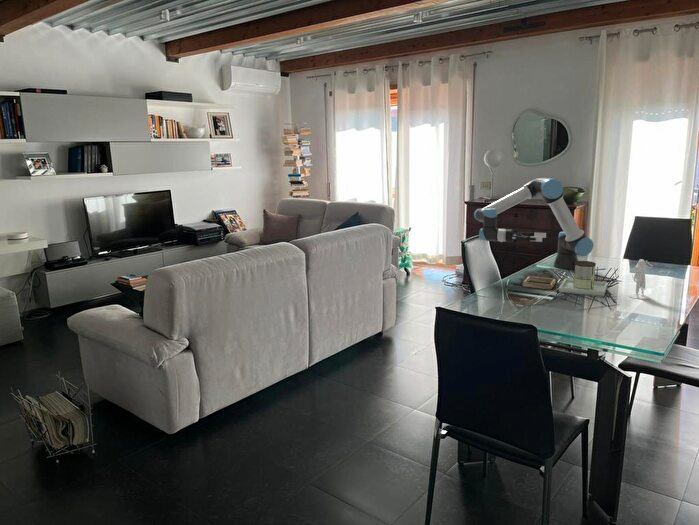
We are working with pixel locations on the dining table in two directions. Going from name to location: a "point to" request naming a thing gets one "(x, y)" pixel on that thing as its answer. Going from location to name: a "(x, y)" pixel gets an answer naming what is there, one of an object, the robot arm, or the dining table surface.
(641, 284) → the female figurine
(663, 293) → the dining table surface
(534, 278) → the wooden frame
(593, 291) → the tray
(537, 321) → the dining table surface
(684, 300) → the dining table surface
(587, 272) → the coffee can
